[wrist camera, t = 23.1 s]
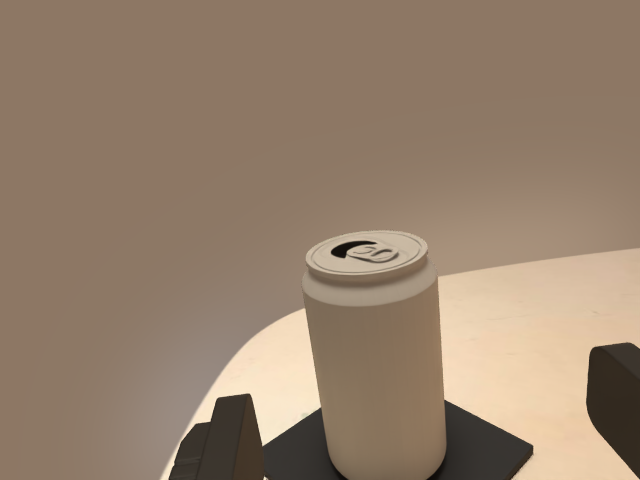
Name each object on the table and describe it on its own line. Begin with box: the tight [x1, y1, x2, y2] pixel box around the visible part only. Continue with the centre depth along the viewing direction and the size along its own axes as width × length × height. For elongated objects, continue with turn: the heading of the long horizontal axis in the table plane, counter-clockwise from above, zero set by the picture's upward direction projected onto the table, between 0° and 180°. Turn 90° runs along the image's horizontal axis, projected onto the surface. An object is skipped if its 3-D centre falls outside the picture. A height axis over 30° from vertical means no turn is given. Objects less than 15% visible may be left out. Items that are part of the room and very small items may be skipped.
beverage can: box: [302, 230, 447, 480], centre depth 23 cm, size 6×6×12 cm
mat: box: [263, 400, 533, 480], centre depth 25 cm, size 11×11×1 cm
